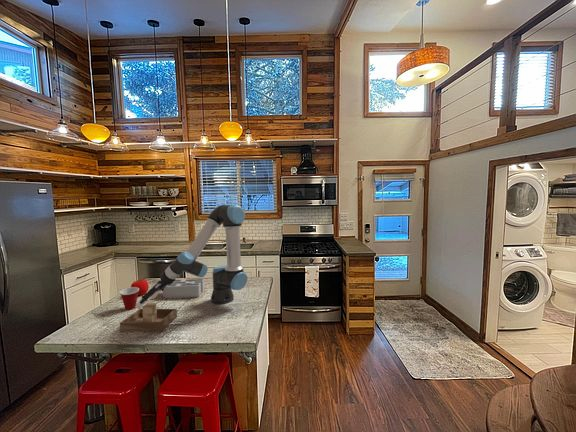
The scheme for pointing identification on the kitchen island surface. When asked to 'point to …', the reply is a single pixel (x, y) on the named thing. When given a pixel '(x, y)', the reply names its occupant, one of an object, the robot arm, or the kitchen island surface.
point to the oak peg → (149, 312)
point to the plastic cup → (129, 297)
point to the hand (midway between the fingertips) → (144, 301)
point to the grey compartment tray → (184, 288)
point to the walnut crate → (137, 325)
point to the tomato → (141, 286)
